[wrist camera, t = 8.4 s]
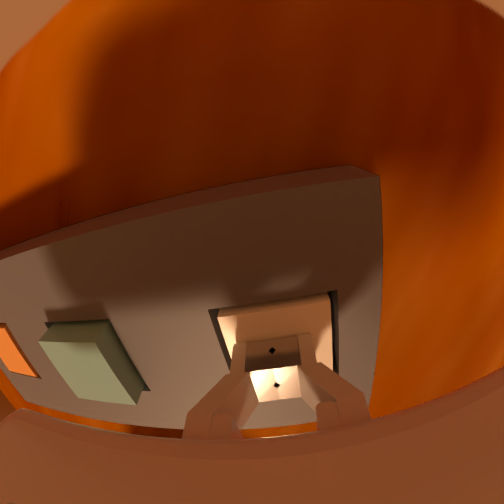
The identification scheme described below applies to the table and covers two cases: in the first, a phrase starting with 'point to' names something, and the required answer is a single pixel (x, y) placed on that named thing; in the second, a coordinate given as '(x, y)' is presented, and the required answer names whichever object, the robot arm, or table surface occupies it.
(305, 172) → the button board
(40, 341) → the olive green button
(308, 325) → the cream button
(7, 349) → the orange button
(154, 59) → the table surface
